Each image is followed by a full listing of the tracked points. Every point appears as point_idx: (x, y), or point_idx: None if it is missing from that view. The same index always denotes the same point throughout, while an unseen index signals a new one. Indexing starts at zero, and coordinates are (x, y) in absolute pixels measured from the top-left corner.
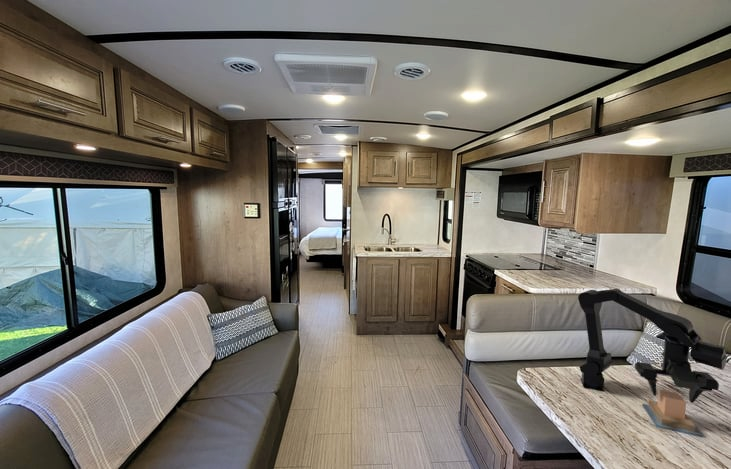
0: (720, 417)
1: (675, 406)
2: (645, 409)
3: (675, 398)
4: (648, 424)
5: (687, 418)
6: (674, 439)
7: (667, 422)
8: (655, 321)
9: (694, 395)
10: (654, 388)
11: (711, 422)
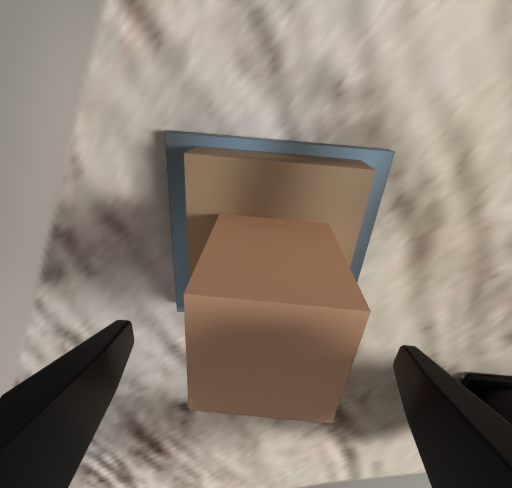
0: (42, 321)
1: (274, 260)
2: None
3: (259, 333)
4: (414, 165)
5: (198, 226)
6: (346, 46)
7: (338, 161)
8: None
9: (50, 394)
10: (498, 430)
11: (85, 278)
